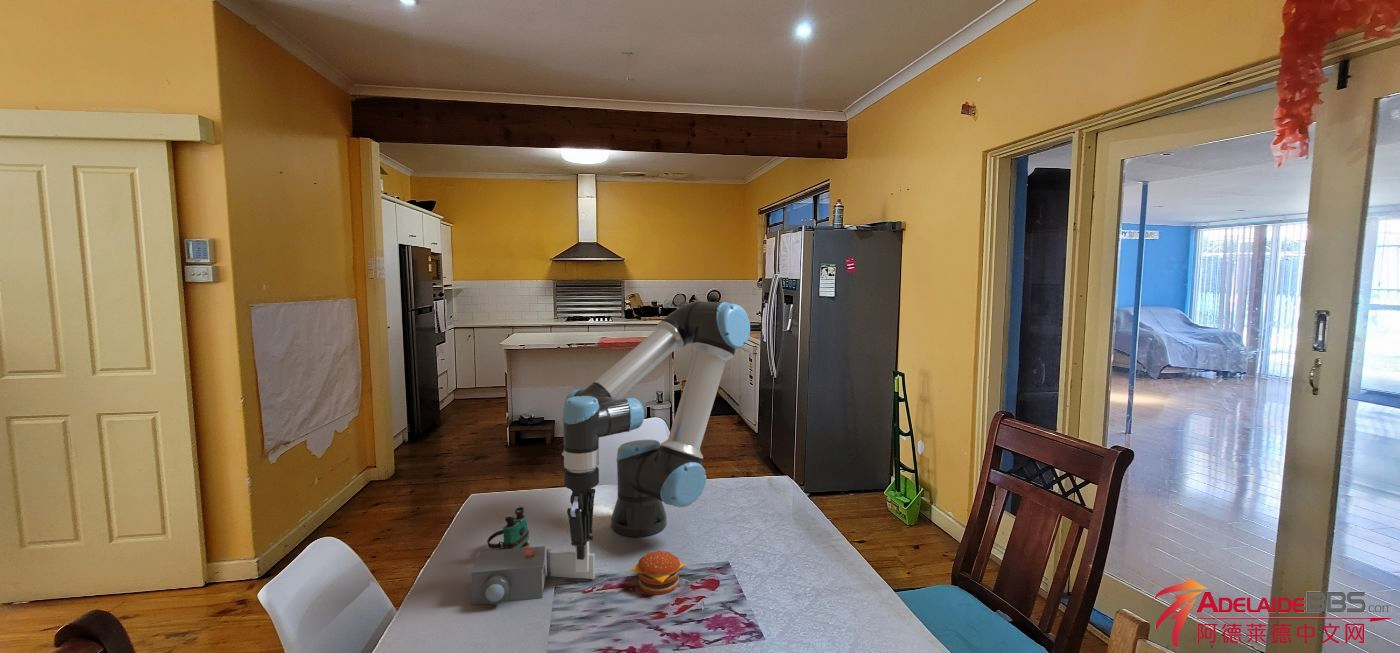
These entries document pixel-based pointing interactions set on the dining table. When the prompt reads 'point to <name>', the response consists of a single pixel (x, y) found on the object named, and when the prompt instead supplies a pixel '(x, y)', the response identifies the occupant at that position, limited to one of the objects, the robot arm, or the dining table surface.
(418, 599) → the dining table surface
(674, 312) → the robot arm
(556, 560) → the side door
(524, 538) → the binoculars
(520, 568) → the camera body
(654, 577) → the hamburger
